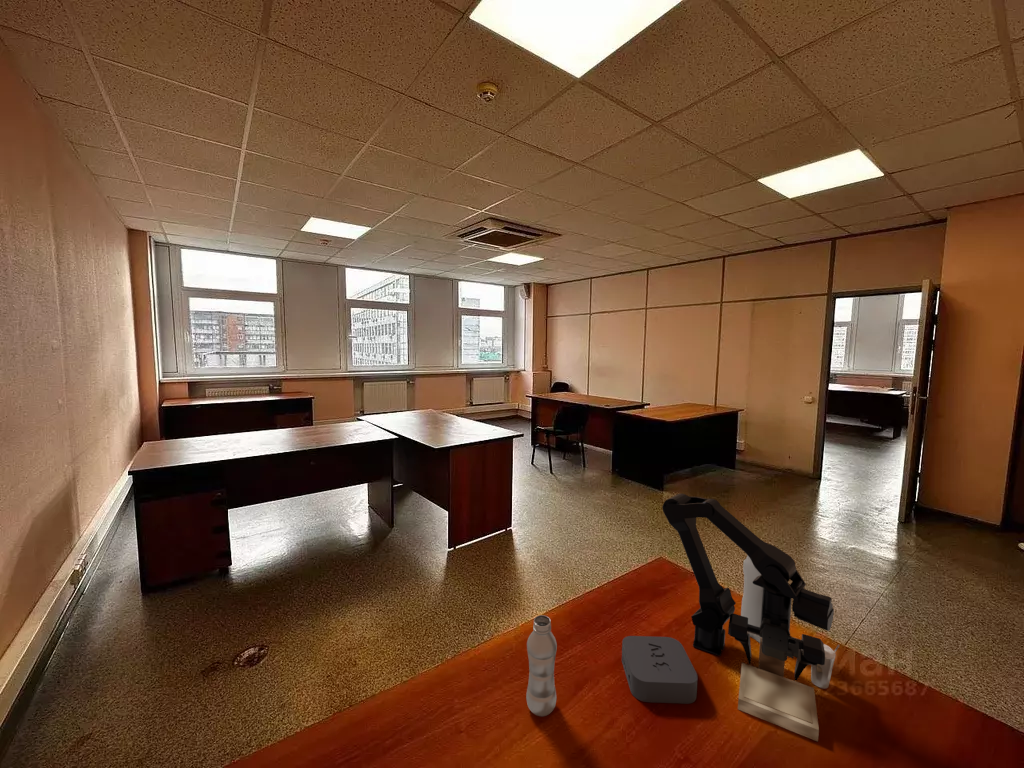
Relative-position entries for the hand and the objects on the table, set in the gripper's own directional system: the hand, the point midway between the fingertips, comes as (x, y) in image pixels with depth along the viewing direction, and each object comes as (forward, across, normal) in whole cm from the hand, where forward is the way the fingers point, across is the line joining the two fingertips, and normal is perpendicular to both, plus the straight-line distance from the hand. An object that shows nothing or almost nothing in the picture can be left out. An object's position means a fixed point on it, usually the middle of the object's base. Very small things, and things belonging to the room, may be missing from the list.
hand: (772, 671), depth 99 cm
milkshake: (+2, +10, +4) cm, 11 cm away
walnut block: (+2, 0, +3) cm, 3 cm away
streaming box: (+2, -23, -14) cm, 27 cm away
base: (+2, +1, -8) cm, 8 cm away
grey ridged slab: (+2, -4, +15) cm, 16 cm away
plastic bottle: (+2, -42, -36) cm, 55 cm away
